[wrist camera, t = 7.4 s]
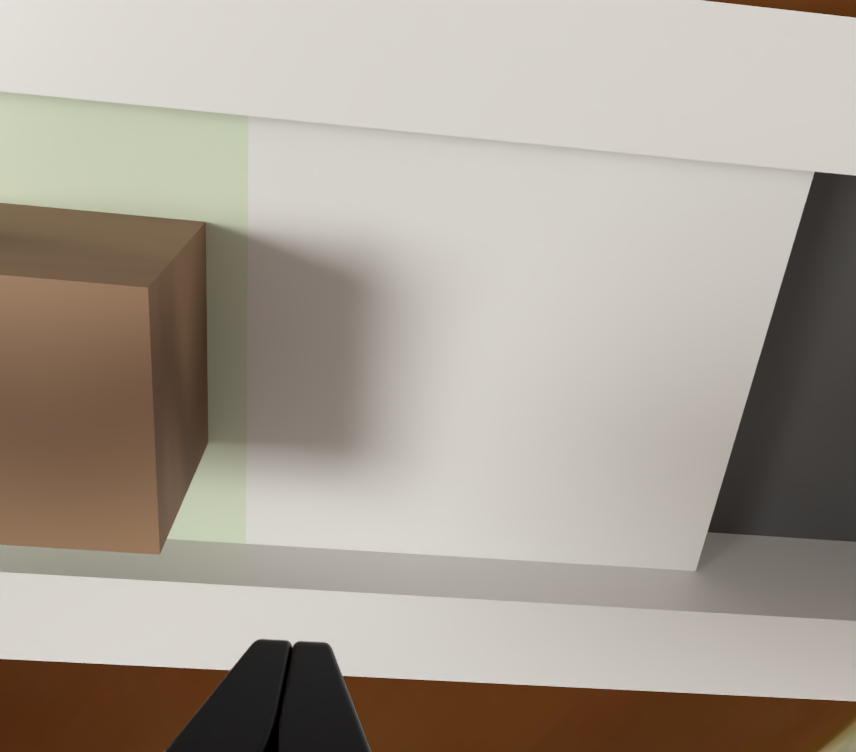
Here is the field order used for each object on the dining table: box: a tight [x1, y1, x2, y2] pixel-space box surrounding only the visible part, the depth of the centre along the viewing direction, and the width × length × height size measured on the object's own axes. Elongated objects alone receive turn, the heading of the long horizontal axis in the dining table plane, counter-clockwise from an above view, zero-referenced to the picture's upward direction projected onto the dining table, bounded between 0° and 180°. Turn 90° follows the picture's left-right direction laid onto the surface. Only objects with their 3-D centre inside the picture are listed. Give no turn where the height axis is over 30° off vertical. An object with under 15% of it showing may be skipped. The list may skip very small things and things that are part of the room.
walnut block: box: [0, 203, 208, 555], centre depth 15 cm, size 5×5×4 cm
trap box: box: [0, 0, 856, 701], centre depth 17 cm, size 15×33×4 cm, turn 84°
